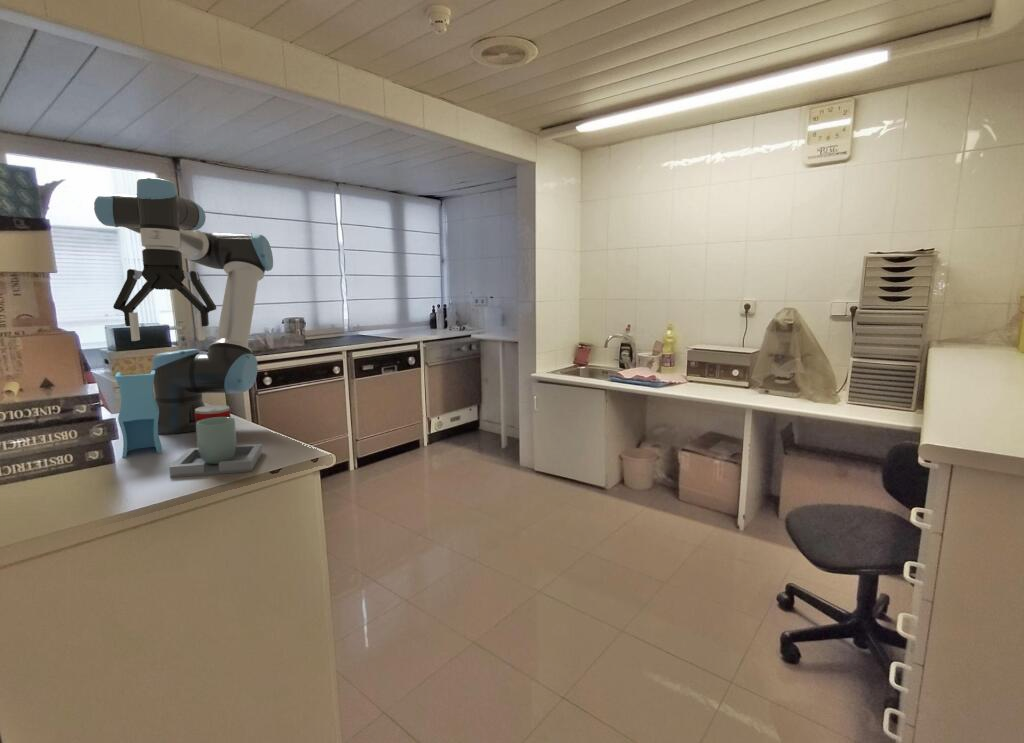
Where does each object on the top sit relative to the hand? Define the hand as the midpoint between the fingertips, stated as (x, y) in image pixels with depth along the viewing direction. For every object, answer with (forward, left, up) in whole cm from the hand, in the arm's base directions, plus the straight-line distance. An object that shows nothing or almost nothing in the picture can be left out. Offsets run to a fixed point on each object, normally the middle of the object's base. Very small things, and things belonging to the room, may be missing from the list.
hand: (169, 340), depth 118 cm
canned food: (-4, +7, -29) cm, 30 cm away
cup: (+9, +11, -28) cm, 32 cm away
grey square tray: (+9, +11, -29) cm, 32 cm away
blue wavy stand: (-7, -10, -29) cm, 31 cm away
